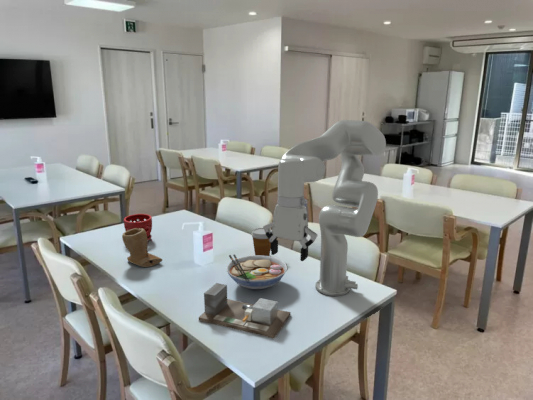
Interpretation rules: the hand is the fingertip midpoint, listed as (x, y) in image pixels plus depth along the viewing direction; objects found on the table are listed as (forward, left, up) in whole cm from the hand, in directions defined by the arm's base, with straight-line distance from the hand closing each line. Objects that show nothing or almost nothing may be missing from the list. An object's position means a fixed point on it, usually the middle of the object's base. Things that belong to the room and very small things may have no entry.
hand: (288, 256), depth 123 cm
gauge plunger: (+9, +2, -21) cm, 23 cm away
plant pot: (+93, -43, -23) cm, 105 cm away
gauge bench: (+14, +2, -22) cm, 26 cm away
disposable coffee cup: (+29, -47, -23) cm, 59 cm away
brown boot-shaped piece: (+74, -21, -23) cm, 80 cm away
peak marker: (+11, +6, -21) cm, 25 cm away
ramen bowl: (+20, -21, -23) cm, 37 cm away
